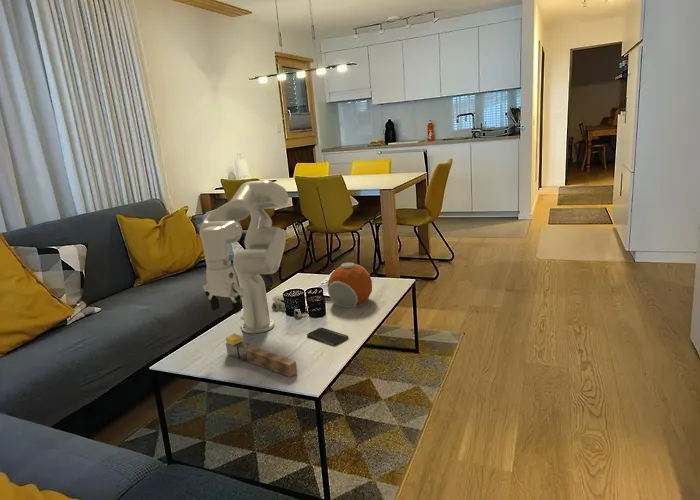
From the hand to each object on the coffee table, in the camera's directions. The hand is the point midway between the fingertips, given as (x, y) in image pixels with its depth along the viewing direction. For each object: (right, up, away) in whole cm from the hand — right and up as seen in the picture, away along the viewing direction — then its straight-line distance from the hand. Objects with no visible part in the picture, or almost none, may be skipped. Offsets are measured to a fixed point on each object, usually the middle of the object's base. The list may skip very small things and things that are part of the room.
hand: (226, 310), depth 162 cm
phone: (+34, -11, +10) cm, 37 cm away
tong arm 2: (+17, -17, -9) cm, 26 cm away
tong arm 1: (+17, -17, -10) cm, 26 cm away
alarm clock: (+43, -2, +42) cm, 60 cm away
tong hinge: (+5, -16, +1) cm, 17 cm away
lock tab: (+2, -11, +1) cm, 11 cm away
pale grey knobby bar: (+18, -5, +42) cm, 45 cm away
